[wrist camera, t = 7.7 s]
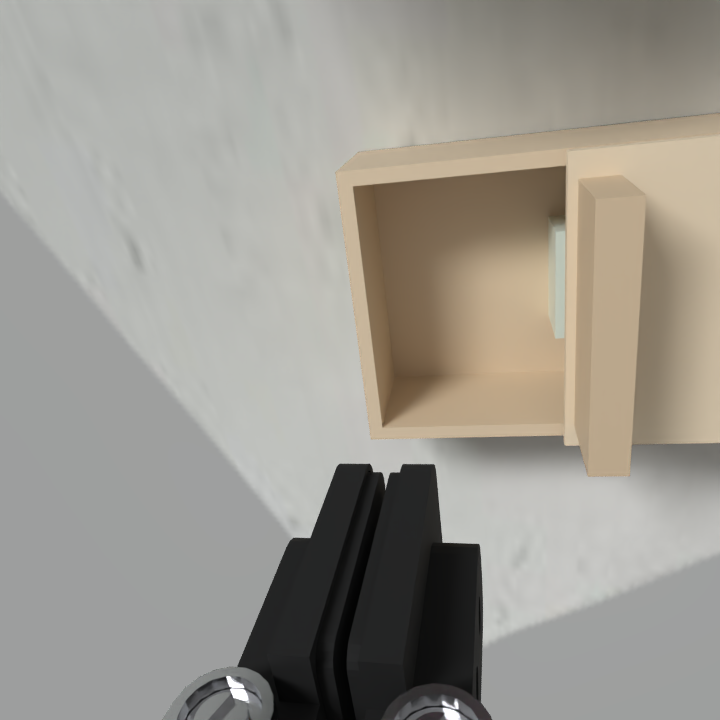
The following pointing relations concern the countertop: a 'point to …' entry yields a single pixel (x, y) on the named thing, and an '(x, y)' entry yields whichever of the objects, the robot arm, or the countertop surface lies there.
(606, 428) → the lid
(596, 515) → the countertop surface
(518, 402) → the mailer box
